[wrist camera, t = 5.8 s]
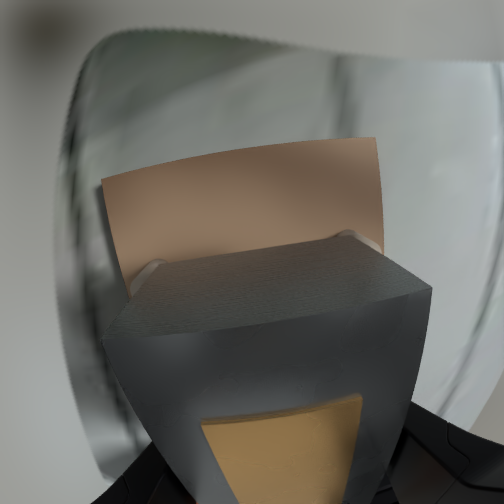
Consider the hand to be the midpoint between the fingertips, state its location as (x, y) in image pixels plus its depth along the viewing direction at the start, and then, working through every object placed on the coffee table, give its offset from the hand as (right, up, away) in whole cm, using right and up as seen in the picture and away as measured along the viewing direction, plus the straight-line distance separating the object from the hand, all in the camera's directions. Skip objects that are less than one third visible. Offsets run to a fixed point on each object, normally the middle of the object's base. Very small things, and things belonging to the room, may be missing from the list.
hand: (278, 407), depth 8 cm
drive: (0, 0, +1) cm, 1 cm away
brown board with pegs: (0, +2, +6) cm, 6 cm away
